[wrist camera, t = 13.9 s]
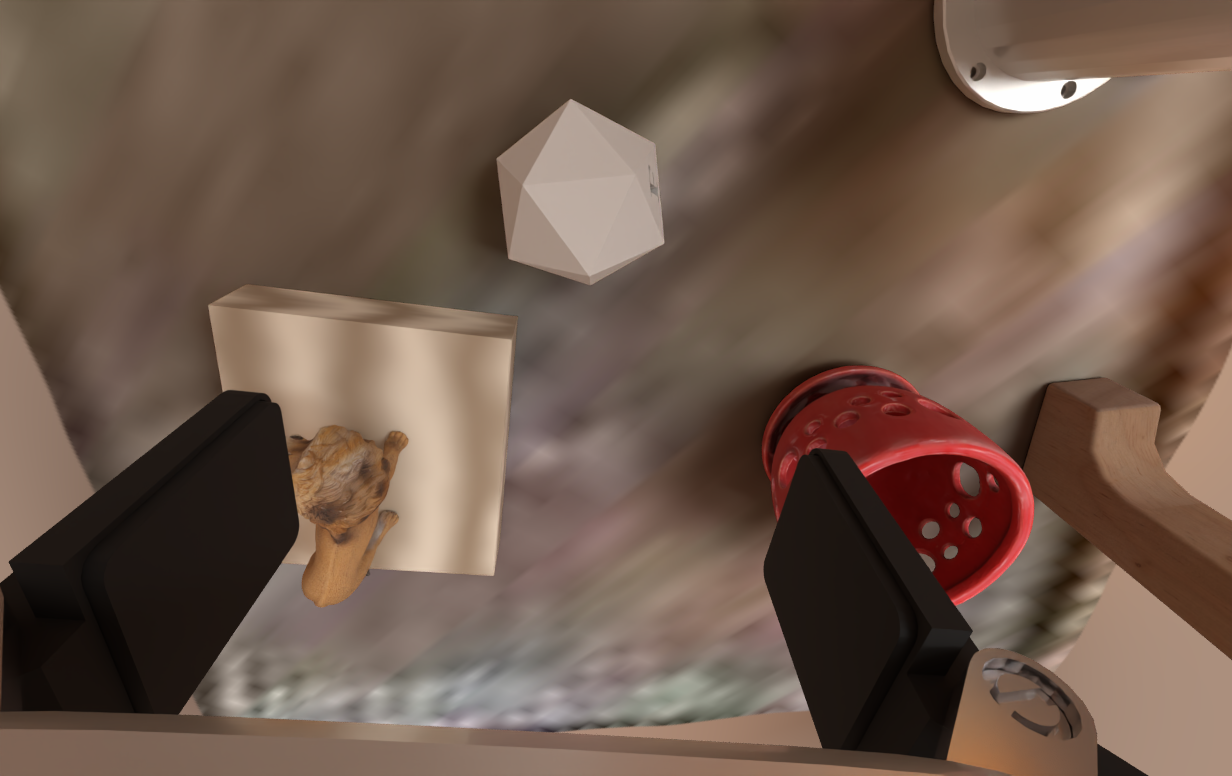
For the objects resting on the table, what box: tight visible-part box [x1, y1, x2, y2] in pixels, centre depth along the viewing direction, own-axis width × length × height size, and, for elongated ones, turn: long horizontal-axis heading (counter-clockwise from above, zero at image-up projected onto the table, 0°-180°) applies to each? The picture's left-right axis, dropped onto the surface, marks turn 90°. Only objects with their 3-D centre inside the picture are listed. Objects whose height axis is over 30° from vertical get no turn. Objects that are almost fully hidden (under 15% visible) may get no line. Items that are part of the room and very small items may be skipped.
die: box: [497, 99, 664, 285], centre depth 29 cm, size 8×9×10 cm
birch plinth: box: [208, 284, 518, 576], centre depth 37 cm, size 16×18×4 cm
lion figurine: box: [286, 425, 409, 607], centre depth 31 cm, size 15×5×9 cm, turn 171°
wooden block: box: [1023, 378, 1232, 660], centre depth 34 cm, size 9×4×18 cm, turn 4°
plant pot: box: [762, 365, 1034, 606], centre depth 36 cm, size 13×13×12 cm
